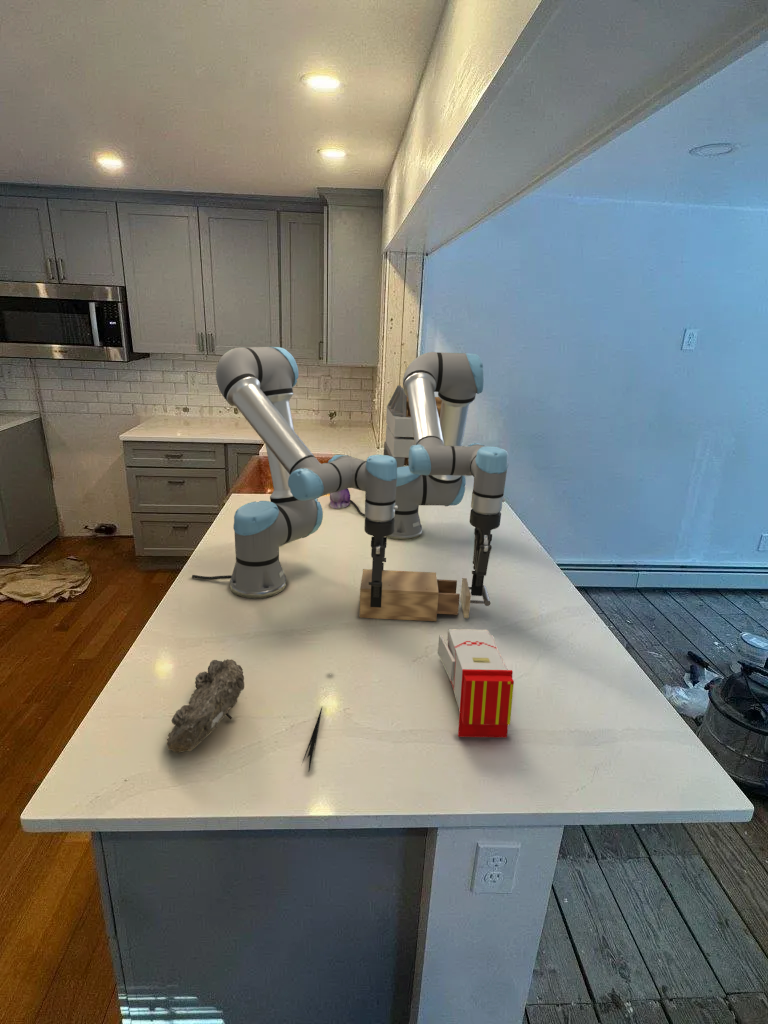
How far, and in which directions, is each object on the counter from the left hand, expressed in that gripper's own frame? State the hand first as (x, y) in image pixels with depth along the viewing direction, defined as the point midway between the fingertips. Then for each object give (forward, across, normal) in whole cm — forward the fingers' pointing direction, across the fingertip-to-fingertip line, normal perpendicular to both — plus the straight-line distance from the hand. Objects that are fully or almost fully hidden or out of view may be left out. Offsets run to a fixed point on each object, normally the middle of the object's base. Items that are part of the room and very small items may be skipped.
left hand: (376, 595), depth 149 cm
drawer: (+3, 0, -17) cm, 17 cm away
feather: (+4, -44, +9) cm, 45 cm away
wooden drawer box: (+4, 0, -6) cm, 7 cm away
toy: (+4, -33, -21) cm, 39 cm away
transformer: (+4, +133, -15) cm, 134 cm away
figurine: (+4, +80, +18) cm, 82 cm away
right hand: (-2, 0, -26) cm, 26 cm away
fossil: (+4, -45, +29) cm, 54 cm away
